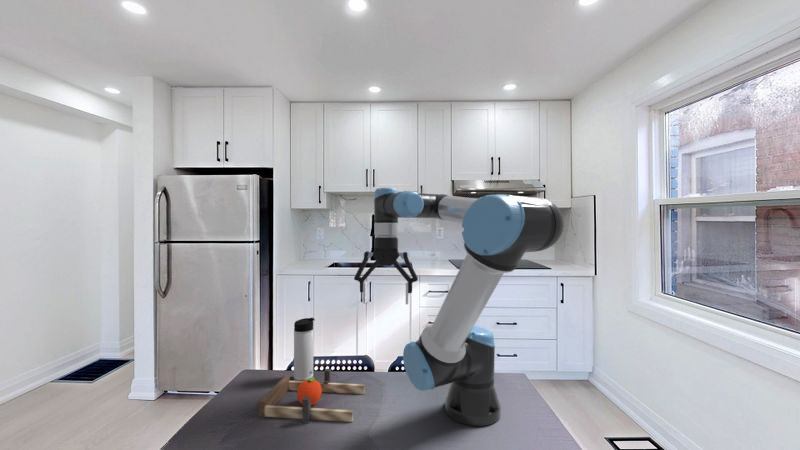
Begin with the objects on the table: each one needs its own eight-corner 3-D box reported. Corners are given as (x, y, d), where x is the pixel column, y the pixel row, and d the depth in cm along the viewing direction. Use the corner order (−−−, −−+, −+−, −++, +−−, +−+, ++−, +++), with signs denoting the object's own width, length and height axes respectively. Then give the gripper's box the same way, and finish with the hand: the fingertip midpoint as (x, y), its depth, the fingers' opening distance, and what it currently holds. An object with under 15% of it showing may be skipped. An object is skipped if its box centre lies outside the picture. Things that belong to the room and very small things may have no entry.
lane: (365, 389, 108) (365, 370, 108) (350, 425, 89) (350, 402, 89) (287, 385, 111) (287, 366, 111) (255, 419, 92) (255, 397, 92)
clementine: (307, 395, 105) (307, 371, 105) (327, 398, 103) (327, 374, 103) (291, 408, 97) (291, 383, 97) (314, 412, 95) (314, 386, 95)
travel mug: (316, 380, 115) (316, 320, 115) (296, 385, 111) (296, 322, 112) (311, 373, 120) (311, 315, 120) (292, 377, 117) (292, 318, 117)
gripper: (425, 236, 113) (425, 301, 113) (350, 236, 116) (350, 299, 116) (424, 237, 106) (424, 306, 106) (344, 236, 108) (344, 304, 108)
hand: (385, 303), depth 111 cm, fingers open, 13 cm apart
